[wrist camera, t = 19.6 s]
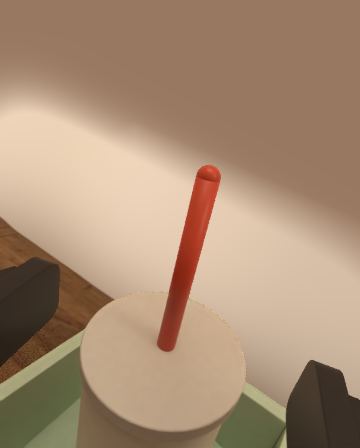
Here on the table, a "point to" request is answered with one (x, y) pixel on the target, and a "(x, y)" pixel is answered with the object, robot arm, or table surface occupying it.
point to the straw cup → (161, 357)
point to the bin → (70, 406)
